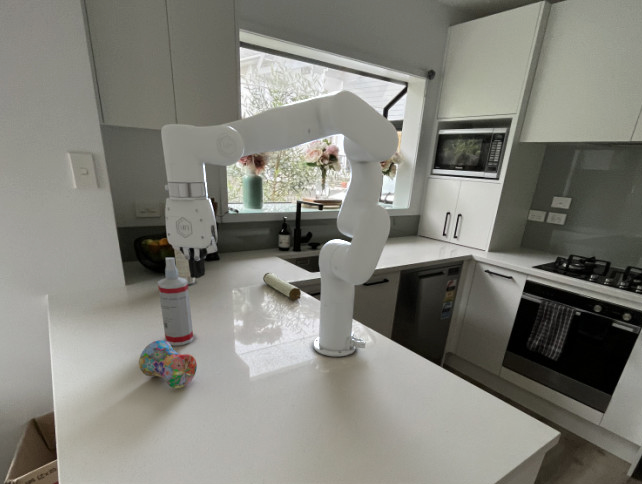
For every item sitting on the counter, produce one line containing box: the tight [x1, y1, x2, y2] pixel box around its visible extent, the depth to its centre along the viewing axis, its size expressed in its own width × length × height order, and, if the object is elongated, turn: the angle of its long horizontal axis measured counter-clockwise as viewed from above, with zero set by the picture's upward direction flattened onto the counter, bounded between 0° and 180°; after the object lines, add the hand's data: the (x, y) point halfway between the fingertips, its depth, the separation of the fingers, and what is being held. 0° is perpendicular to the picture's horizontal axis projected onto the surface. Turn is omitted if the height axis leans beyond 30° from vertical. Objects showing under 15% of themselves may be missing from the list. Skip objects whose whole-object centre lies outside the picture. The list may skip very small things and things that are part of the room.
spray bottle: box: [157, 257, 194, 346], centre depth 108 cm, size 8×8×25 cm
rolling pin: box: [262, 272, 302, 301], centre depth 158 cm, size 32×6×5 cm, turn 32°
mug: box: [138, 339, 198, 389], centre depth 91 cm, size 12×9×11 cm
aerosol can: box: [173, 248, 196, 286], centre depth 161 cm, size 7×7×20 cm
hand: (197, 276), depth 86 cm, fingers closed
